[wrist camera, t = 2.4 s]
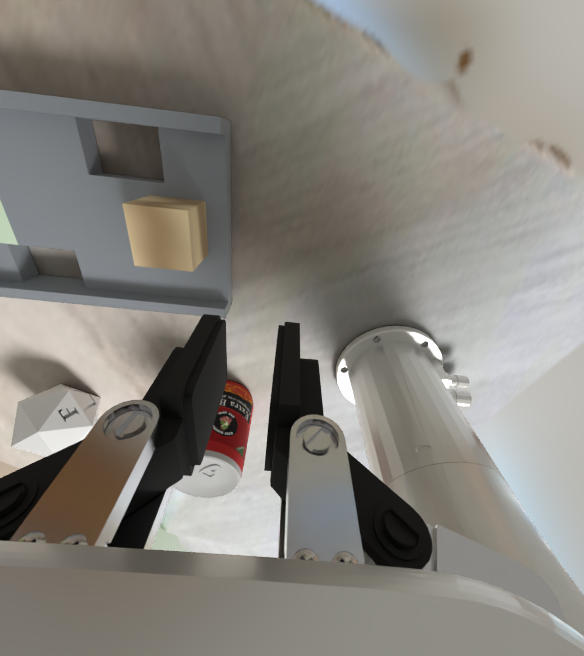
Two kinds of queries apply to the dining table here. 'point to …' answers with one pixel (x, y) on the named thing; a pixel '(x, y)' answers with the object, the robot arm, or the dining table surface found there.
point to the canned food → (223, 447)
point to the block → (167, 232)
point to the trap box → (107, 204)
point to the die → (54, 420)
